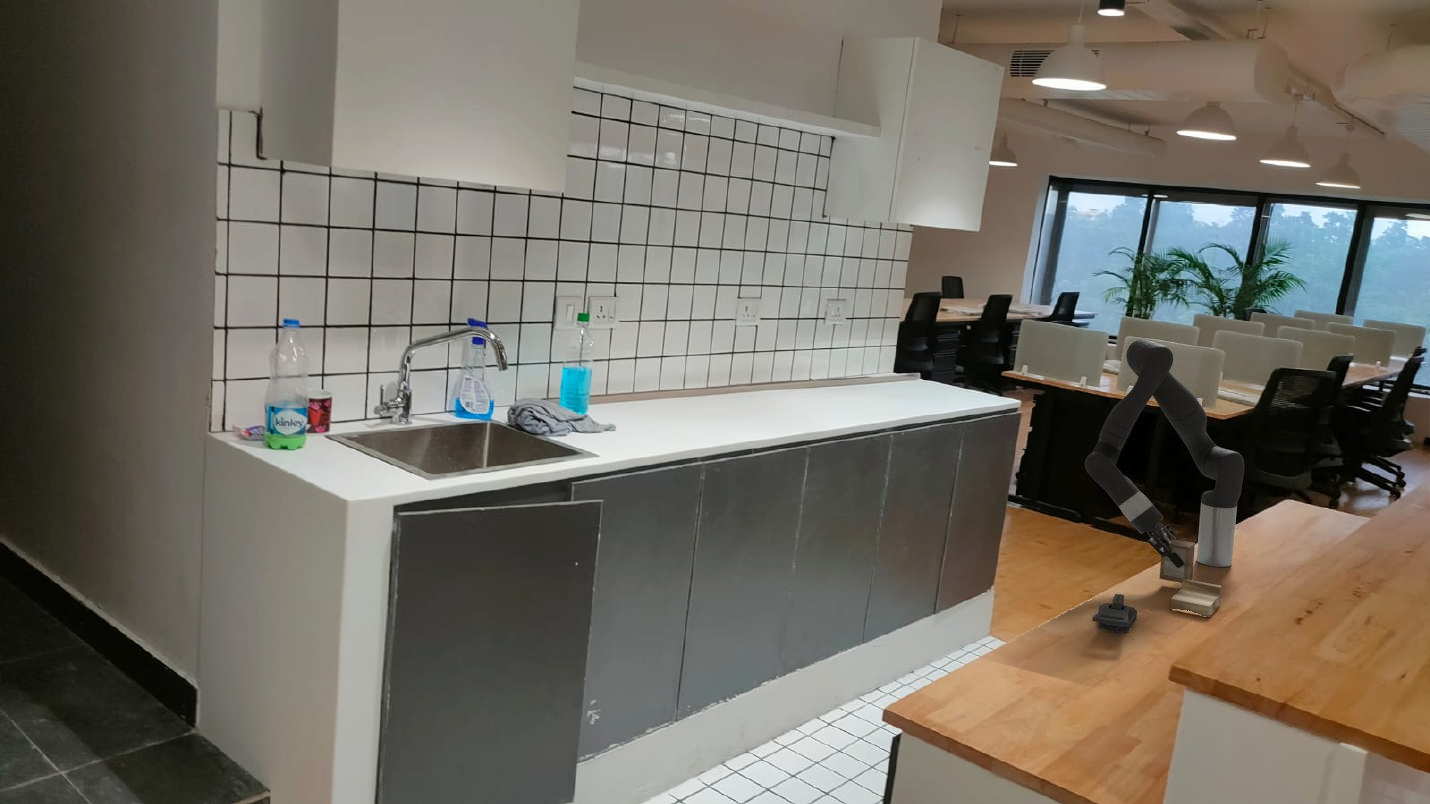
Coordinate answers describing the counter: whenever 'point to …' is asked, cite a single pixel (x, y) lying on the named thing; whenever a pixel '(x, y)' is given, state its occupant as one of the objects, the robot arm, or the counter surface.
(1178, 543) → the frame
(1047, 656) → the counter surface
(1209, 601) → the ledge
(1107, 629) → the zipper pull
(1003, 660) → the counter surface
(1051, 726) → the counter surface
